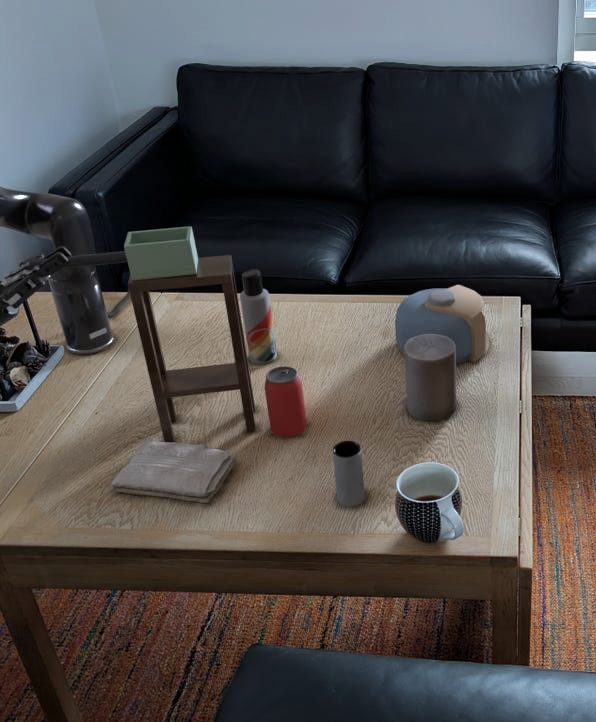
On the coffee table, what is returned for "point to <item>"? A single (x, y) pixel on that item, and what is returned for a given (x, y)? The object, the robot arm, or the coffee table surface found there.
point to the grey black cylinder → (348, 473)
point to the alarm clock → (445, 319)
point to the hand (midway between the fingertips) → (65, 254)
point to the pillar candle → (430, 376)
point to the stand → (194, 378)
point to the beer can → (285, 402)
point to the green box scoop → (147, 254)
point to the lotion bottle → (257, 318)
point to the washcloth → (175, 471)
